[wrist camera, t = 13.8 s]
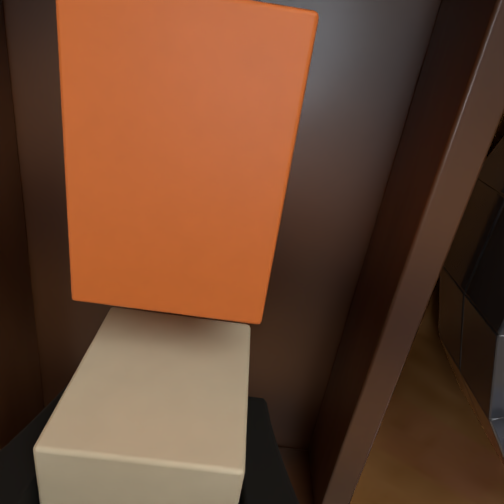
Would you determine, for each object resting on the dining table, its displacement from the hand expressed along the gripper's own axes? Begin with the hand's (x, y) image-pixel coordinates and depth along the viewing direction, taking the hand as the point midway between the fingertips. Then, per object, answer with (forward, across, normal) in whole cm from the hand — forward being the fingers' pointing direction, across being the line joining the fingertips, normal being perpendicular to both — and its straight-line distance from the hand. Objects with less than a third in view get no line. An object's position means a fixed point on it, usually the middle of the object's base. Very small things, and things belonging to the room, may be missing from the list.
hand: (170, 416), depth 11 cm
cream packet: (+1, 0, 0) cm, 1 cm away
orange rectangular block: (+3, 0, -7) cm, 7 cm away
